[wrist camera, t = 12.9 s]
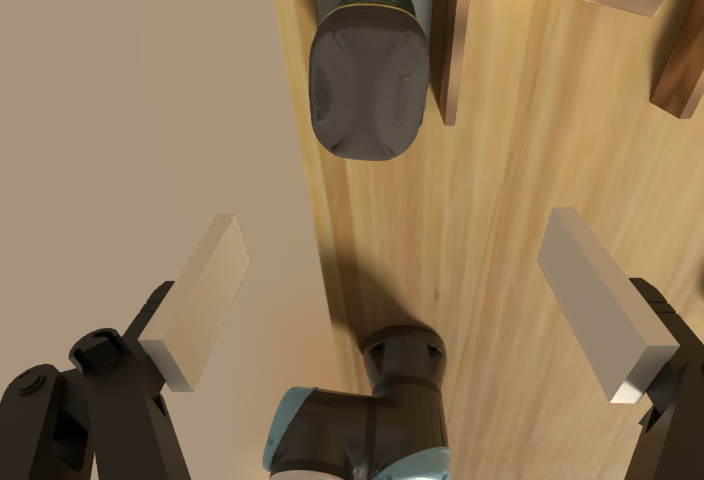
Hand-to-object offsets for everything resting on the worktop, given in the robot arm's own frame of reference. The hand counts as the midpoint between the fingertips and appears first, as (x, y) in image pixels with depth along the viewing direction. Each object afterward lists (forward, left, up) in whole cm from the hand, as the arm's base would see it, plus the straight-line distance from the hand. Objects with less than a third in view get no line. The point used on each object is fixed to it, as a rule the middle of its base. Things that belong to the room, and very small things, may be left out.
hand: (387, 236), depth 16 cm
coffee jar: (+3, +1, -29) cm, 29 cm away
